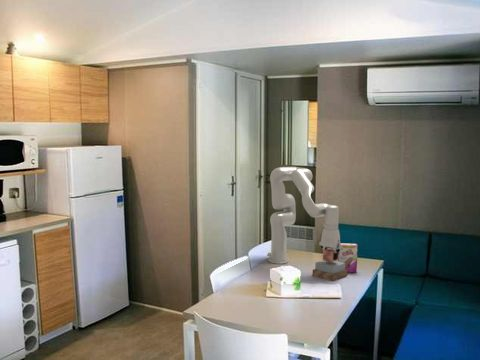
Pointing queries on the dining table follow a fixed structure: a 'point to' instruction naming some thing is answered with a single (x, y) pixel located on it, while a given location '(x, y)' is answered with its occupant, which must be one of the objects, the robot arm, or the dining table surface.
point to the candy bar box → (348, 256)
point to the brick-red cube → (328, 255)
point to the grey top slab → (330, 266)
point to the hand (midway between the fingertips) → (330, 258)
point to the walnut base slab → (329, 275)
